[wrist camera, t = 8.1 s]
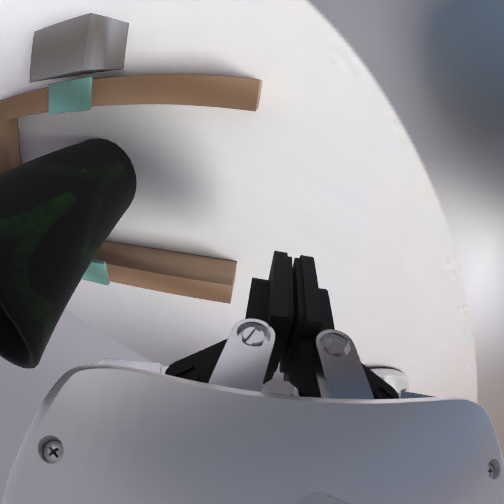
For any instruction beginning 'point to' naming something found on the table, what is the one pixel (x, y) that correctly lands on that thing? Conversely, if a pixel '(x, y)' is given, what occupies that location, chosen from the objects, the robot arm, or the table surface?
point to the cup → (54, 236)
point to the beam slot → (121, 93)
